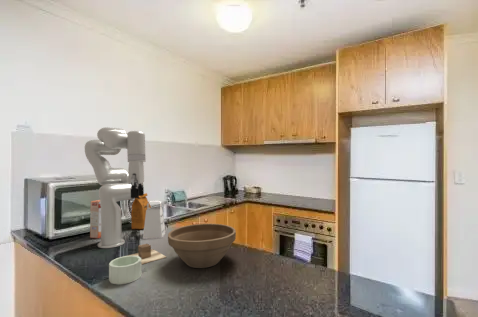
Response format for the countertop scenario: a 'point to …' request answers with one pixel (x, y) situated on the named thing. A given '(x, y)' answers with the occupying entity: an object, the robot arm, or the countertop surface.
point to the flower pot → (202, 243)
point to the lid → (148, 254)
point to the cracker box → (95, 219)
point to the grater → (154, 222)
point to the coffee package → (139, 212)
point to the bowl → (125, 269)
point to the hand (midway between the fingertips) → (137, 196)
